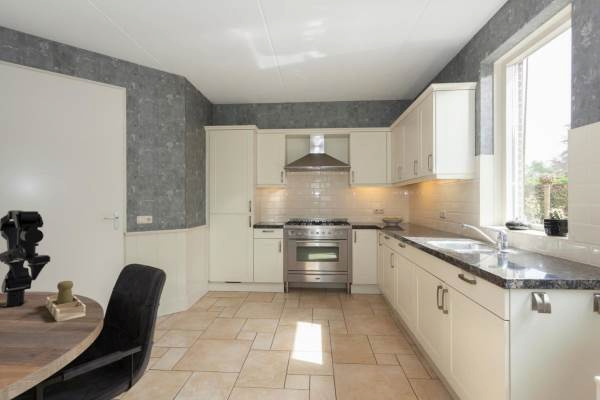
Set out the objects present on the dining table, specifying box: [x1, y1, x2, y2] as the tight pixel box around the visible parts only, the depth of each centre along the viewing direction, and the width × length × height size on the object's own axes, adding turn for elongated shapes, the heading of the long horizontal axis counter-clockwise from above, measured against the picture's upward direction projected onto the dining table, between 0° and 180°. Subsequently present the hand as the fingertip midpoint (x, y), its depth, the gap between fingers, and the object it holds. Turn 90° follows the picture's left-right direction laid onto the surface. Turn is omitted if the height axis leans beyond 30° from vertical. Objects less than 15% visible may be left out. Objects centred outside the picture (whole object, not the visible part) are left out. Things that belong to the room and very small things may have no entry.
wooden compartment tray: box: [45, 293, 86, 323], centre depth 122 cm, size 25×9×4 cm, turn 48°
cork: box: [56, 280, 74, 305], centre depth 122 cm, size 6×6×11 cm
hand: (25, 279), depth 121 cm, fingers open, 9 cm apart
